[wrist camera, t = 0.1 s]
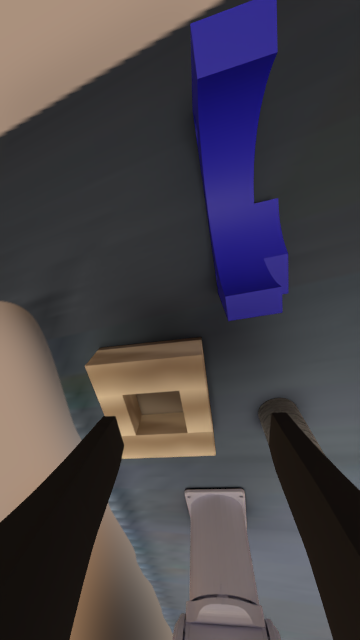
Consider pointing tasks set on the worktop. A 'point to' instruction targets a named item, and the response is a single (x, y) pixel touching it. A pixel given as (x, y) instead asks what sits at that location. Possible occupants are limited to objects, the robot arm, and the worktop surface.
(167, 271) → the worktop surface
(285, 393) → the worktop surface
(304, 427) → the pin
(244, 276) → the blue curved cradle
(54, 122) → the worktop surface
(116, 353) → the pocket block
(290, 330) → the worktop surface
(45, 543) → the robot arm
